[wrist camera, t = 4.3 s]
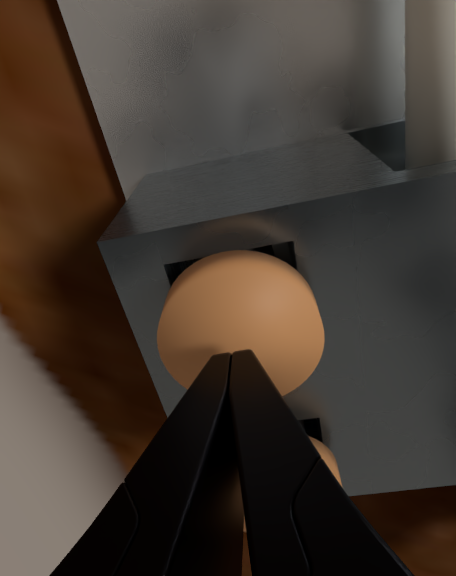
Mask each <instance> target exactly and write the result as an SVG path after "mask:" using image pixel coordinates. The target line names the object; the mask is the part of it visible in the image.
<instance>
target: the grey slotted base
mask: <svg viewBox="0 0 456 576" xmlns="http://www.w3.org/2000/svg"><path fill="white" fill-rule="evenodd" d="M57 2H58V5H59V8H60V11H61V14H62V16H63V19H64V22H65V25H66V28H67V31H68V34H69V37H70V40H71V42H72V45H73V48H74V51H75V54H76V57H77V60H78V63H79V66H80V68H81V71H82V74H83V77H84V80H85V83H86V86H87V89H88V91H89V94H90V97H91V100H92V103H93V106H94V109H95V112H96V115H97V117H98V120H99V123H100V126H101V129H102V132H103V135H104V138H105V141H106V143H107V146H108V149H109V152H110V155H111V158H112V161H113V164H114V167H115V169H116V172H117V175H118V178H119V181H120V184H121V187H122V190H123V193H124V195H125V198H126V202H125V204H124V205H123V207H122V208H121V209H120V211H119V212H118V213H117V215H116V216H115V218H114V219H113V220H112V222H111V223H110V225H109V226H108V227H107V229H106V230H105V232H104V233H103V234H102V236H101V237H100V238H99V240H98V241H97V244H98V247H99V249H100V252H101V254H102V256H103V259H104V261H105V264H106V266H107V269H108V271H109V274H110V276H111V279H112V281H113V284H114V286H115V289H116V291H117V294H118V296H119V299H120V301H121V304H122V306H123V309H124V311H125V314H126V316H127V318H128V321H129V323H130V326H131V328H132V331H133V333H134V336H135V338H136V341H137V343H138V346H139V348H140V351H141V353H142V356H143V358H144V361H145V363H146V366H147V368H148V371H149V373H150V375H151V378H152V380H153V383H154V385H155V388H156V390H157V393H158V395H159V398H160V400H161V403H162V405H163V408H164V410H165V413H166V415H167V418H168V417H169V415H170V414H171V412H172V411H173V410H174V408H175V407H176V405H177V404H178V403H179V401H180V400H181V398H182V397H183V395H184V394H185V393H186V391H187V389H186V388H185V387H183V386H182V385H181V384H179V383H178V382H177V381H176V380H175V379H174V378H173V377H172V375H171V374H170V373H169V372H168V370H167V369H166V367H165V366H164V364H163V362H162V360H161V357H160V354H159V351H158V345H157V330H158V325H159V321H160V317H161V314H162V310H163V307H164V303H165V300H166V297H167V294H168V292H169V290H170V288H171V286H172V284H173V283H174V281H175V280H176V279H177V278H178V276H179V275H180V274H181V273H182V272H183V271H184V270H185V269H187V268H188V267H189V266H191V265H192V264H193V263H195V262H197V261H199V260H201V259H202V258H205V257H207V256H210V255H213V254H216V253H220V252H225V251H233V250H246V249H251V248H257V247H262V246H268V245H272V247H273V250H274V255H275V257H276V258H278V259H280V260H282V261H284V262H286V263H288V264H289V265H290V266H292V267H293V268H295V269H296V270H297V271H298V272H299V273H300V274H301V275H302V276H303V278H304V279H305V280H306V281H307V283H308V284H309V286H310V288H311V290H312V292H313V294H314V297H315V300H316V303H317V306H318V310H319V313H320V316H321V320H322V323H323V328H324V339H325V341H324V349H323V352H322V356H321V359H320V361H319V363H318V365H317V367H316V368H315V370H314V371H313V373H312V374H311V375H310V376H309V377H308V379H307V380H306V381H304V382H303V383H302V384H301V385H300V386H299V387H297V388H296V389H294V390H293V391H291V392H289V393H288V394H286V395H284V396H282V397H283V398H284V400H285V401H286V403H287V404H288V406H289V408H290V409H291V411H292V412H293V414H294V415H295V417H296V418H297V420H303V421H304V426H305V432H306V434H307V435H308V436H310V437H312V438H315V439H316V440H318V441H320V442H322V443H323V444H324V445H326V446H327V447H328V448H329V449H330V450H331V452H332V453H333V455H334V457H335V459H336V462H337V466H338V470H339V475H340V479H341V483H342V487H343V489H344V491H345V492H346V493H347V495H348V496H356V495H365V494H375V493H384V492H394V491H403V490H412V489H422V488H431V487H440V486H450V485H456V160H452V161H447V162H442V163H437V164H432V165H426V166H421V167H416V168H411V169H406V170H405V0H57Z"/></svg>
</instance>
